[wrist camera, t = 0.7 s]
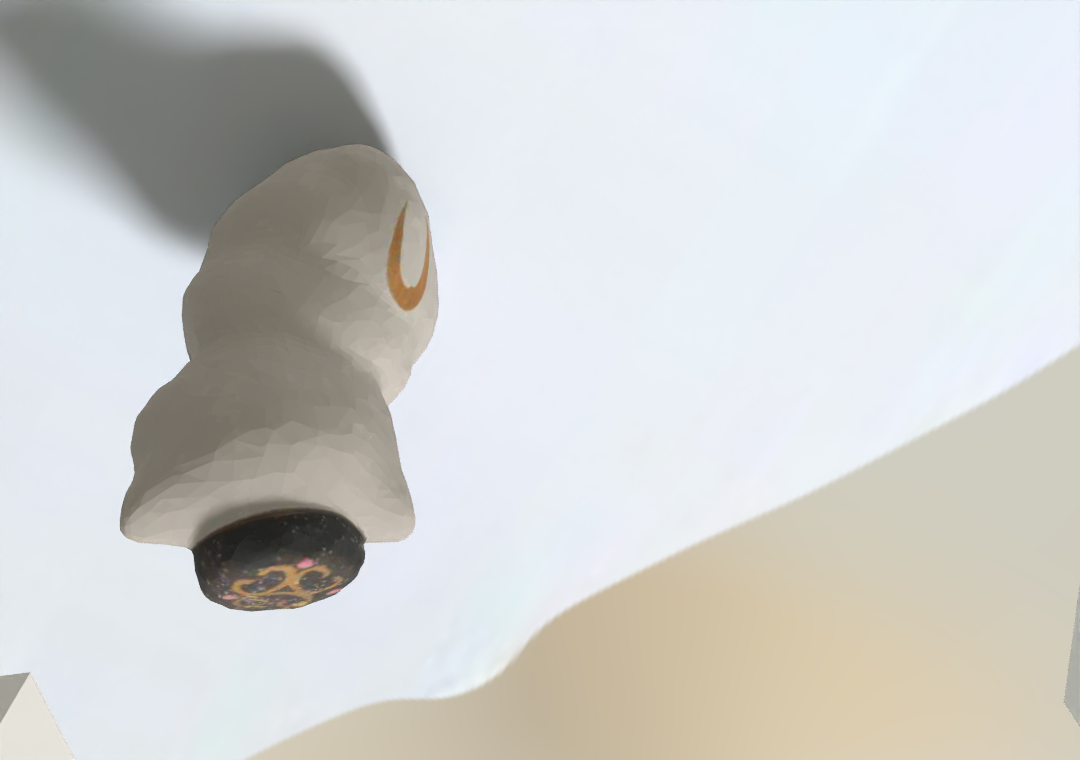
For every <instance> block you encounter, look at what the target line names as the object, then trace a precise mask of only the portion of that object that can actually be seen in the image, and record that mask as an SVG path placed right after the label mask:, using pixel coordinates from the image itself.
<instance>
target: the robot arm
mask: <svg viewBox="0 0 1080 760" xmlns="http://www.w3.org/2000/svg"><path fill="white" fill-rule="evenodd" d="M1064 703H1065V705H1066V706H1067V708H1068V709H1069V711H1070V712H1071V714H1072V715H1073V717H1074V718H1075V720H1076V722H1077V723H1078V724H1079V726H1080V587H1079V595H1078V602H1077V610H1076V617H1075V625H1074V632H1073V639H1072V647H1071V654H1070V661H1069V669H1068V676H1067V683H1066V690H1065V698H1064ZM0 760H75V758H74V756H73V754H72V752H71V750H70V748H69V746H68V745H67V743H66V741H65V739H64V737H63V735H62V733H61V731H60V729H59V727H58V725H57V723H56V721H55V719H54V717H53V715H52V713H51V711H50V709H49V708H48V706H47V704H46V702H45V700H44V698H43V696H42V694H41V692H40V690H39V688H38V686H37V684H36V682H35V680H34V678H33V676H32V674H31V672H29V673H22V674H14V675H6V676H0Z"/></svg>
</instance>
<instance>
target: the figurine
mask: <svg viewBox="0 0 1080 760" xmlns="http://www.w3.org/2000/svg"><path fill="white" fill-rule="evenodd" d="M438 305H439V300H438V284H437V270H436V265H435V259H434V253H433V246H432V239H431V232H430V226H429V216H428V213H427V211H426V208H425V206H424V204H423V202H422V200H421V197H420V195H419V192H418V190H417V188H416V185H415V183H414V182H413V180H412V179H411V178H410V177H409V175H408V174H407V173H406V172H405V171H404V169H403V168H402V167H401V166H400V165H399V164H398V163H397V162H396V161H395V160H393V159H392V158H391V157H389V156H388V155H386V154H385V153H383V152H381V151H380V150H378V149H376V148H374V147H370V146H366V145H363V144H352V145H345V146H340V147H335V148H330V149H322V150H315V151H313V152H310V153H308V154H305V155H303V156H301V157H299V158H296V159H294V160H292V161H289V162H287V163H285V164H284V165H283V166H282V167H280V168H279V169H278V170H277V171H275V172H274V173H273V174H272V175H270V176H269V177H268V178H266V179H265V180H264V181H262V182H261V183H259V184H258V185H256V186H255V187H253V188H252V189H250V190H249V191H247V192H246V193H244V194H243V195H242V196H240V197H239V198H238V199H237V200H235V201H234V202H233V203H232V204H231V205H230V206H229V208H228V209H227V210H226V211H225V213H224V214H223V215H222V217H221V218H220V219H219V221H218V222H217V223H216V224H215V226H214V228H213V230H212V233H211V236H210V240H209V244H208V249H207V251H206V254H205V257H204V260H203V263H202V265H201V268H200V270H199V272H198V273H197V274H196V276H195V277H194V278H193V279H192V281H191V283H190V284H189V286H188V287H187V289H186V291H185V293H184V296H183V305H182V322H183V330H184V338H185V343H186V348H187V352H188V355H189V358H190V362H188V363H187V364H186V365H185V367H184V368H183V369H182V370H181V371H180V372H179V373H178V374H177V376H176V377H175V378H174V379H173V380H172V381H170V382H168V383H167V384H165V385H164V386H162V387H160V388H159V389H158V390H157V391H156V392H155V394H154V395H153V396H152V397H151V398H150V400H149V401H148V403H147V404H146V406H145V407H144V408H143V410H142V411H141V412H140V414H139V415H138V416H137V418H136V421H135V425H134V430H133V436H132V441H131V454H132V458H133V462H134V471H135V474H134V478H133V481H132V483H131V485H130V487H129V489H128V490H127V492H126V495H125V497H124V501H123V505H122V509H121V517H120V531H121V532H122V533H123V535H124V536H125V537H126V538H128V539H131V540H133V541H136V542H140V543H151V544H166V545H173V546H180V547H186V548H188V549H190V550H191V551H192V553H193V555H194V563H195V572H196V575H197V578H198V581H199V585H200V588H201V590H202V592H203V594H204V595H205V596H206V597H207V598H208V599H209V600H211V601H213V602H215V603H218V604H221V605H223V606H225V607H227V608H229V609H236V610H244V611H262V610H274V609H294V608H299V607H303V606H306V605H308V604H311V603H313V602H316V601H319V600H322V599H325V598H328V597H330V596H333V595H335V594H337V593H338V592H339V591H340V590H341V589H343V588H344V587H345V586H347V585H348V584H349V583H350V582H352V581H353V580H354V579H355V577H356V576H357V575H358V572H359V570H360V568H361V566H362V565H363V563H364V559H365V551H364V545H363V544H364V543H371V542H398V541H401V540H404V539H406V538H407V537H408V536H409V535H410V534H411V533H412V532H413V529H414V526H415V514H414V509H413V504H412V500H411V496H410V492H409V489H408V486H407V483H406V480H405V478H404V475H403V472H402V469H401V464H400V458H399V453H398V447H397V441H396V436H395V432H394V427H393V422H392V418H391V414H390V411H389V409H388V405H389V404H390V403H391V402H392V401H393V400H394V399H395V398H396V397H397V396H398V395H399V393H400V392H401V391H402V390H403V388H404V387H405V385H406V383H407V381H408V379H409V377H410V375H411V369H412V365H413V364H414V363H415V362H416V361H417V360H418V358H419V357H420V356H421V354H422V353H423V352H424V351H425V349H426V348H427V345H428V343H429V341H430V339H431V338H432V336H433V332H434V328H435V324H436V321H437V317H438Z"/></svg>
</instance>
